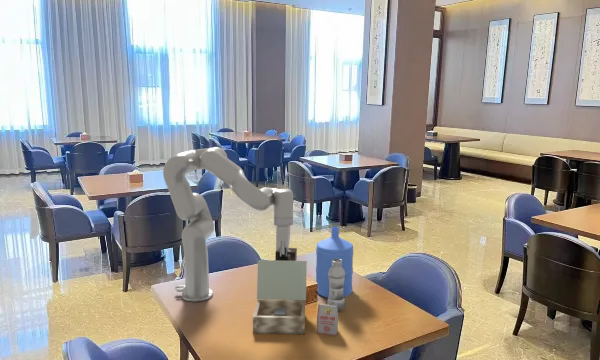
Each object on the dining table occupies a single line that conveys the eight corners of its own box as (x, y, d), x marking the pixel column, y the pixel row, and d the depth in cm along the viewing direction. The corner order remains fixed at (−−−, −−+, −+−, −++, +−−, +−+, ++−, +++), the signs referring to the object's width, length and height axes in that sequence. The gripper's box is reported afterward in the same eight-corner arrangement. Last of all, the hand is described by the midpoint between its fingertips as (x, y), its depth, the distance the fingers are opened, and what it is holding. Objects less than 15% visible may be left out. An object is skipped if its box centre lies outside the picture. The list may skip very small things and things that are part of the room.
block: (275, 319, 166) (275, 307, 165) (285, 319, 166) (285, 308, 165) (273, 326, 161) (273, 314, 160) (285, 326, 161) (285, 314, 160)
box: (252, 333, 158) (252, 317, 157) (257, 314, 171) (257, 299, 170) (304, 334, 157) (304, 318, 156) (305, 315, 171) (305, 300, 170)
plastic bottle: (343, 313, 173) (345, 263, 169) (326, 312, 174) (327, 262, 171) (345, 306, 179) (346, 258, 176) (328, 304, 180) (329, 256, 177)
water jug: (353, 299, 186) (355, 233, 181) (315, 298, 186) (316, 233, 181) (350, 284, 201) (352, 223, 196) (315, 284, 201) (316, 223, 197)
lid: (258, 260, 173) (258, 260, 174) (256, 299, 171) (257, 299, 172) (306, 261, 172) (306, 260, 174) (306, 300, 170) (306, 299, 171)
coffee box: (274, 286, 198) (274, 251, 195) (276, 280, 204) (276, 246, 202) (295, 287, 197) (295, 252, 195) (296, 281, 203) (297, 247, 201)
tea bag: (319, 328, 162) (319, 301, 160) (337, 330, 160) (338, 304, 158) (316, 333, 158) (317, 306, 156) (335, 335, 156) (336, 308, 155)
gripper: (275, 215, 185) (275, 258, 188) (272, 225, 170) (272, 271, 173) (293, 215, 185) (293, 258, 188) (292, 225, 170) (292, 272, 173)
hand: (283, 264), depth 180 cm, fingers closed
